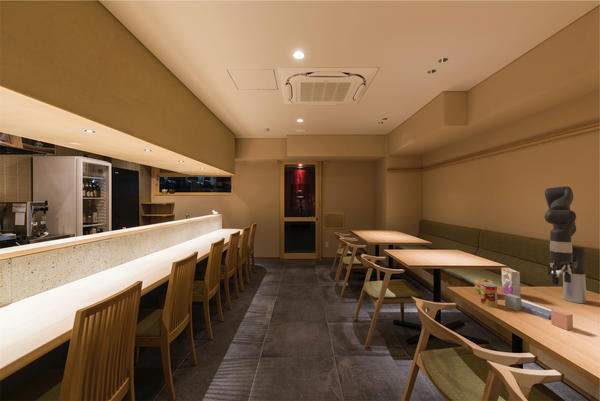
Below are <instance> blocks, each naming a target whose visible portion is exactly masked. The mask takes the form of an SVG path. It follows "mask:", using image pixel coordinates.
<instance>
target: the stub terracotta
mask: <svg viewBox="0 0 600 401" xmlns="http://www.w3.org/2000/svg"><path fill="white" fill-rule="evenodd" d="M573 316H574V315H573V313H570V312H567V311H564V310H560V309H558V308H554V310H551V319H550V320H551V321H550V322H551V325H553V326H554V327H555V326H556V327H557V328H561V329H564V330H566V331H569V330H574V321H573V320H574V317H573Z"/></svg>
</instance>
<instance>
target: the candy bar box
mask: <svg viewBox="0 0 600 401" xmlns="http://www.w3.org/2000/svg"><path fill="white" fill-rule="evenodd" d="M501 292H503V293H504V294H513V295H516V296H519V297H521V295H522V294H521V293H522V292H521V272H519V271H517V270H515V269H513V268H510V267H501ZM521 298H522V297H521Z"/></svg>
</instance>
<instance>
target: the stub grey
mask: <svg viewBox="0 0 600 401" xmlns="http://www.w3.org/2000/svg"><path fill="white" fill-rule="evenodd" d="M521 298H522V297H519V296H516V295H513V294H506V293H504V306H505V308H506V307H507V308H509V309H511V310H514V311H523V310H522V304H521Z"/></svg>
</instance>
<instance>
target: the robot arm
mask: <svg viewBox="0 0 600 401" xmlns="http://www.w3.org/2000/svg"><path fill="white" fill-rule="evenodd" d="M544 197H545V201H546V204H547V207H548V209H547V210H546V212H545V213H544V221H546V223H547V224H552V226H553V227H552V228H551V230H550V233H549V235H550V240H549V258H550V260H552V261H553V262H548V266H547V267H548V268H547V271H548V272H547V274H548V275H549V276H551V280H552V281H551V283H552V284H553V285H555V286H556V285H557V286H559V285H560V275H561V274H562V288H563V290H562V291H563V293H562V294H563V295H562V297H563V300H566V301H567V302H571V303H576V304H587V285H586V283H587V282H586V281H587V280H586V258H587V255H586V254H587V252H586V249H585V248H584V247H581V246H573V245H572V237H573V236H574V235H575V234H576V232H577V227H576V220H577V214H576V212H575V211H574V210H571V205H572V203H573V201H574V191H573V189H572V187H571V186H566V185H565V186H554V187H549V188H545V190H544Z"/></svg>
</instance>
